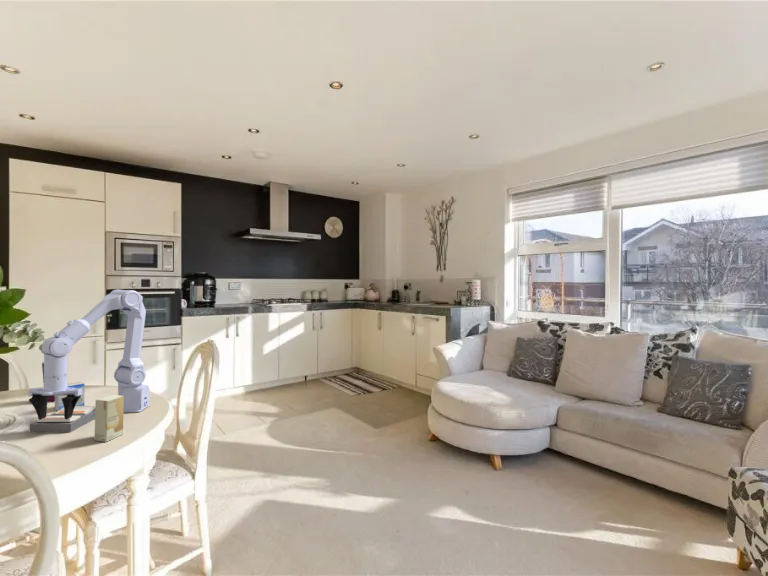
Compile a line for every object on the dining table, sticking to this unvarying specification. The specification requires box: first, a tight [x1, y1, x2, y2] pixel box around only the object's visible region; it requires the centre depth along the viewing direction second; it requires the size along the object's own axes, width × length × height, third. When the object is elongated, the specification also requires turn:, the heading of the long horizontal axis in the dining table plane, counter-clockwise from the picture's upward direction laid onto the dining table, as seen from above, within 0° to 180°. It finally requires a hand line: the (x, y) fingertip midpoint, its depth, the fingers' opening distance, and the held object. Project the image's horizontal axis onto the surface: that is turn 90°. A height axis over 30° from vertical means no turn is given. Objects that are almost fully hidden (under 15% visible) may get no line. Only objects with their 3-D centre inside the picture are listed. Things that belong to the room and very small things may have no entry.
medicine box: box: [54, 381, 86, 412], centre depth 143 cm, size 8×4×9 cm, turn 143°
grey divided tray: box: [28, 409, 95, 434], centre depth 129 cm, size 12×15×3 cm
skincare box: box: [94, 394, 125, 443], centre depth 118 cm, size 6×4×12 cm
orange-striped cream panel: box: [54, 405, 95, 415], centre depth 132 cm, size 10×5×1 cm, turn 95°
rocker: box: [36, 415, 81, 422], centre depth 125 cm, size 10×5×1 cm, turn 95°
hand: (55, 418), depth 123 cm, fingers open, 7 cm apart
